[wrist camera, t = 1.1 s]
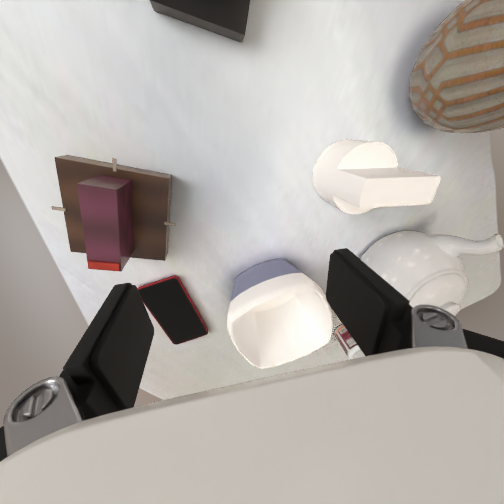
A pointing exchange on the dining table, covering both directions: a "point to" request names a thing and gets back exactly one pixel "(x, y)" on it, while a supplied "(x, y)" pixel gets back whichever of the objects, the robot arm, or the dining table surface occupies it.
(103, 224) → the bar
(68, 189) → the panel
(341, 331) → the pill bottle
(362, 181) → the base with upright slab
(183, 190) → the dining table surface
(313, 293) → the bowl
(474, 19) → the vase
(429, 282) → the teapot
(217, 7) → the button block
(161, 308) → the smartphone
